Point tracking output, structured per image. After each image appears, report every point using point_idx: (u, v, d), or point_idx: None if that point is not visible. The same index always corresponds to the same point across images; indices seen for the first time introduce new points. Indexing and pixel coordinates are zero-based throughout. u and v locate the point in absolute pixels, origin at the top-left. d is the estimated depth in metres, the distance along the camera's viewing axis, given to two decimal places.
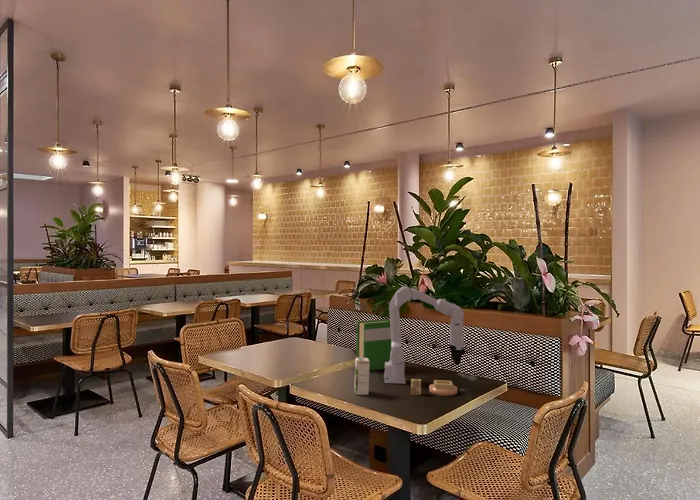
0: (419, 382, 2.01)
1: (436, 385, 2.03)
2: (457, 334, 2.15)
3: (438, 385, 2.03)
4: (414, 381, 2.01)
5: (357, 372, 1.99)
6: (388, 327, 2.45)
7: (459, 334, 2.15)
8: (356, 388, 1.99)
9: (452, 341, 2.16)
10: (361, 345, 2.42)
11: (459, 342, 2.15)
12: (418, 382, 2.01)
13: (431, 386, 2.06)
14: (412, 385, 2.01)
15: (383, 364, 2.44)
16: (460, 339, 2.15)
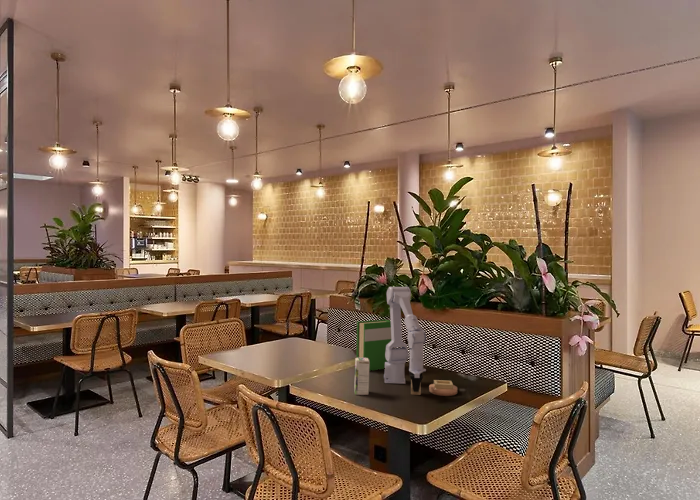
0: None
1: (436, 385, 2.03)
2: (416, 360, 1.99)
3: (438, 385, 2.03)
4: None
5: (357, 372, 1.99)
6: (388, 327, 2.45)
7: (419, 360, 1.99)
8: (356, 388, 1.99)
9: (411, 368, 2.00)
10: (361, 345, 2.42)
11: (419, 369, 1.99)
12: None
13: (431, 386, 2.06)
14: (412, 385, 2.01)
15: (383, 364, 2.44)
16: (420, 366, 2.00)
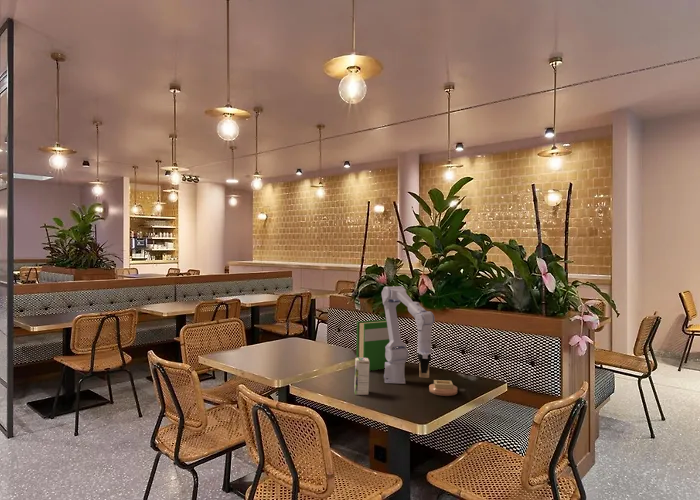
0: None
1: (436, 385, 2.03)
2: (424, 342, 2.00)
3: (438, 385, 2.03)
4: None
5: (357, 372, 1.99)
6: None
7: (427, 342, 2.00)
8: (356, 388, 1.99)
9: (419, 349, 2.01)
10: (361, 345, 2.42)
11: (427, 350, 2.00)
12: None
13: (431, 386, 2.06)
14: (420, 368, 2.02)
15: (383, 364, 2.44)
16: (428, 347, 2.01)
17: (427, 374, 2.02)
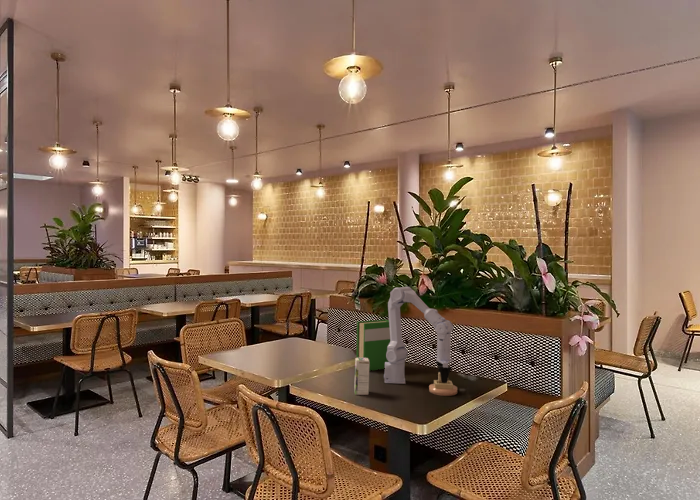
0: None
1: (436, 385, 2.03)
2: (444, 350, 2.03)
3: (438, 385, 2.03)
4: None
5: (357, 372, 1.99)
6: (388, 327, 2.45)
7: (446, 350, 2.03)
8: (356, 388, 1.99)
9: (439, 358, 2.04)
10: (361, 345, 2.42)
11: (446, 359, 2.03)
12: None
13: (431, 386, 2.06)
14: (440, 378, 2.05)
15: (383, 364, 2.44)
16: (447, 356, 2.03)
17: None
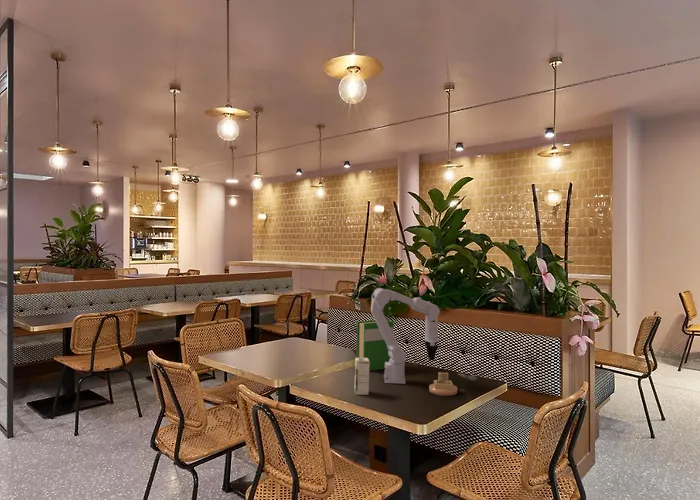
0: (446, 375, 2.05)
1: (436, 385, 2.03)
2: (432, 330, 2.21)
3: (438, 385, 2.03)
4: (442, 374, 2.05)
5: (357, 372, 1.99)
6: None
7: (434, 330, 2.21)
8: (356, 388, 1.99)
9: (427, 337, 2.21)
10: (361, 345, 2.42)
11: (434, 338, 2.21)
12: (445, 375, 2.05)
13: (431, 386, 2.06)
14: (440, 378, 2.05)
15: (383, 364, 2.44)
16: (435, 335, 2.21)
17: None
